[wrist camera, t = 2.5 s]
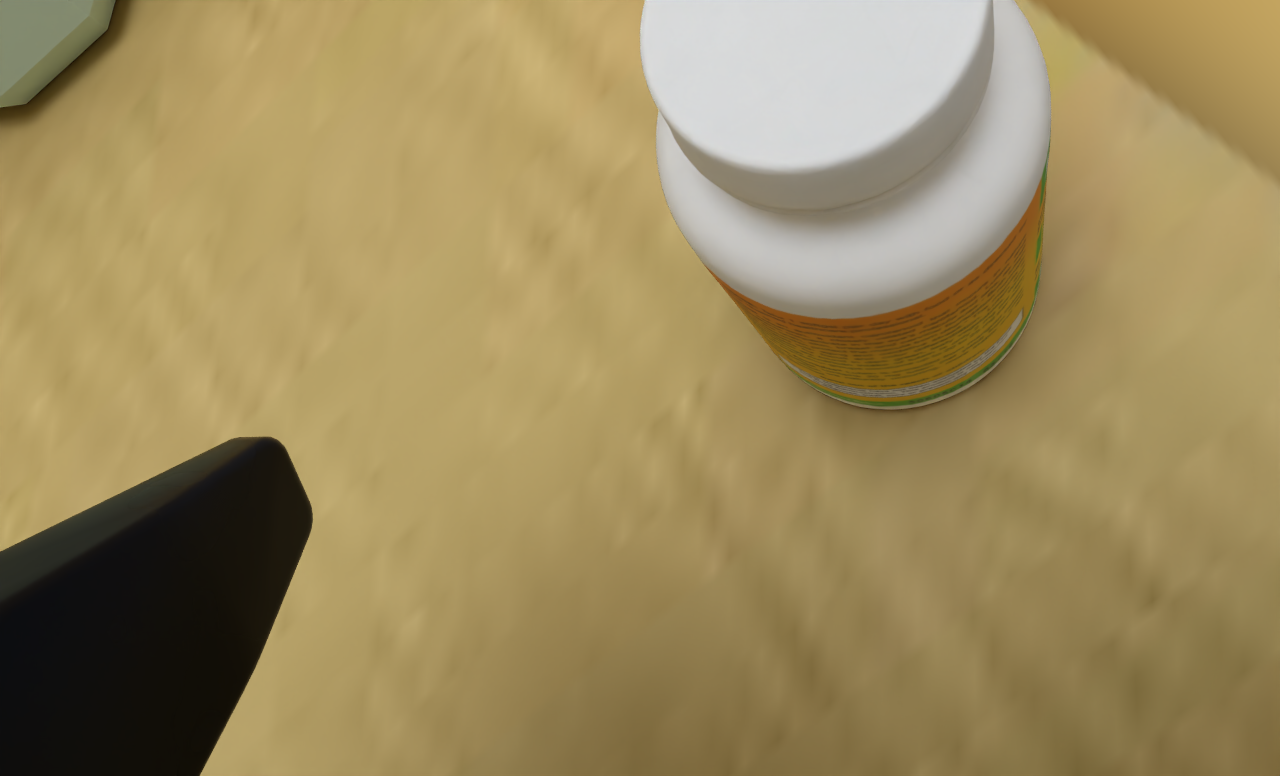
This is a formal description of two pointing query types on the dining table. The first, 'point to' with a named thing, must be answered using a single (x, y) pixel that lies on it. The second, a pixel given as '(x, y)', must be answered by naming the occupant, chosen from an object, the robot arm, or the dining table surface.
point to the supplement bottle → (859, 179)
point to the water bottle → (44, 41)
